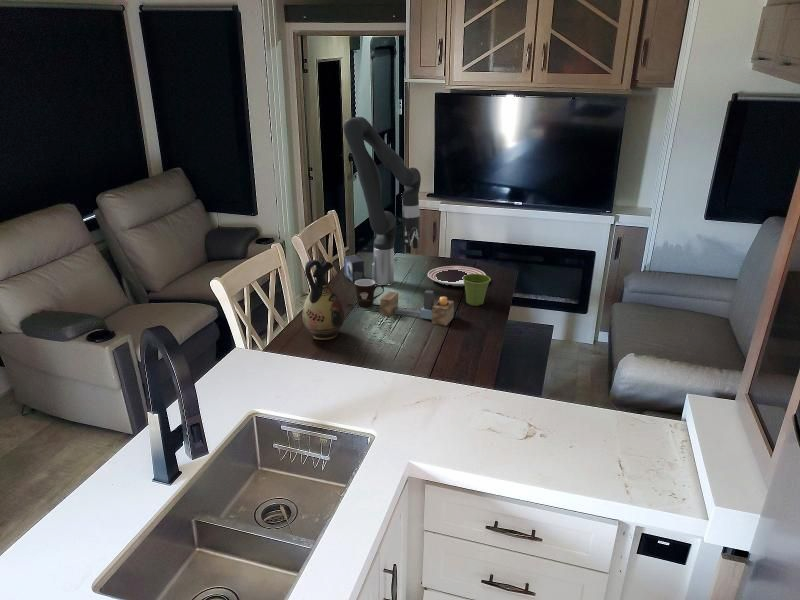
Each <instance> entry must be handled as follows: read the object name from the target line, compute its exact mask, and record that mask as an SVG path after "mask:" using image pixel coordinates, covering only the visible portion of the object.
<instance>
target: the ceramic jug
mask: <svg viewBox="0 0 800 600" xmlns="http://www.w3.org/2000/svg"><path fill="white" fill-rule="evenodd" d="M304 267H305V268H304V271H305V272H304V273H305V277H306V279H307V281H308V284H309V287H310V291H309V293H308V295H307V297H306V299H305V301H304V303H303V307H302V322H303V323H302V324H303V325H304V327H305V328H306V329H307V331H308V332H310V334H311V335H312V337H313V339H315V340H321V341H322V340H333V339H336V338H337V337H338V336H339V335H338V334H339V331H340V330H341V328H342V326H343V324H344V321H345V310H344V306H343V303H342V302H341V299H340V298H339V297H338V295H337V294H336V292H335V291H334V290H333V288H332V287H331V286H330V285H329V284H328V282H327V281H326V277H325V276H326V274H327V273H328V272H329V271H330V270H331V269H333V268H334V267H335V266H334V264H333V263H331V262H330V261H327V260H326V261H323V260H322V259H321V260H320V261H319V260H316V259H310V260H308V261H307V262H306V263H305V266H304ZM313 267H315V270H314V272H313V274H312V272H311V271H312V268H313ZM314 278H315V281H314Z"/></svg>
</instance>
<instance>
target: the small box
mask: <svg viewBox="0 0 800 600" xmlns="http://www.w3.org/2000/svg"><path fill="white" fill-rule="evenodd" d="M343 274H344V275H345V276H346V277H347V278H348V279H350V280H351V281H352V282H354V281H357V280H360V279H365V260H364V259H362V258H360V257H359V256H357V255H356V254H352V255H346V256H343ZM344 275H343V276H344ZM347 278H346V279H347ZM348 279H347V280H348ZM352 282H351V283H352Z"/></svg>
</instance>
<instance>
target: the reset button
mask: <svg viewBox="0 0 800 600" xmlns="http://www.w3.org/2000/svg"><path fill="white" fill-rule="evenodd" d="M439 299H440V303H439V305H440V306H447V300H448V297H447V296H439Z"/></svg>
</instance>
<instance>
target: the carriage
mask: <svg viewBox="0 0 800 600" xmlns="http://www.w3.org/2000/svg"><path fill="white" fill-rule="evenodd" d="M423 293H424V295H423V307H421V308H420V311H421V318H420V319H424V318H427V319H426V320H430V319H432V307H433V306H434V305H435V299H434V298H435V290H429V289H426V290H425V291H424V292H423Z"/></svg>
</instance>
